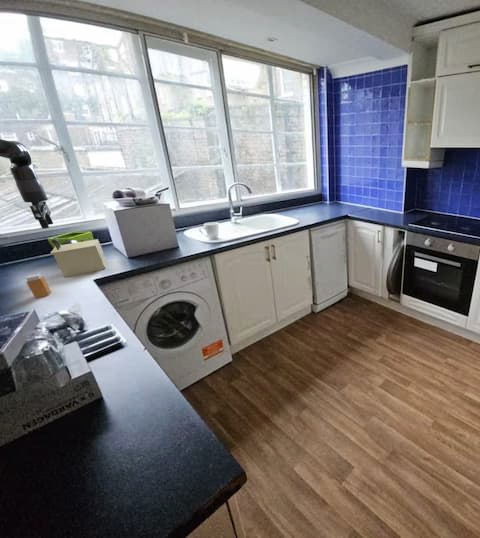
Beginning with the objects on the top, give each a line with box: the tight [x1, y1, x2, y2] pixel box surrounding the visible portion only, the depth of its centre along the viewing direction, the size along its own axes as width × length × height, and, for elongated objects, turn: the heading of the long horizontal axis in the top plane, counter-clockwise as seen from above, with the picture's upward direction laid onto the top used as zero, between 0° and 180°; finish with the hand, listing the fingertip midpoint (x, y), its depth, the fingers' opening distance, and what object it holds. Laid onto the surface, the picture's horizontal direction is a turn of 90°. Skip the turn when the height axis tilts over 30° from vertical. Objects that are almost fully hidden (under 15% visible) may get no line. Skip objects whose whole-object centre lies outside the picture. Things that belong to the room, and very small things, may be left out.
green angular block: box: [47, 231, 94, 249], centre depth 167 cm, size 14×14×13 cm
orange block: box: [25, 273, 52, 299], centre depth 122 cm, size 4×4×9 cm
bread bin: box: [52, 240, 108, 278], centre depth 148 cm, size 16×14×12 cm
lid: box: [50, 236, 99, 256], centre depth 144 cm, size 16×14×6 cm
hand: (48, 226), depth 135 cm, fingers open, 8 cm apart
